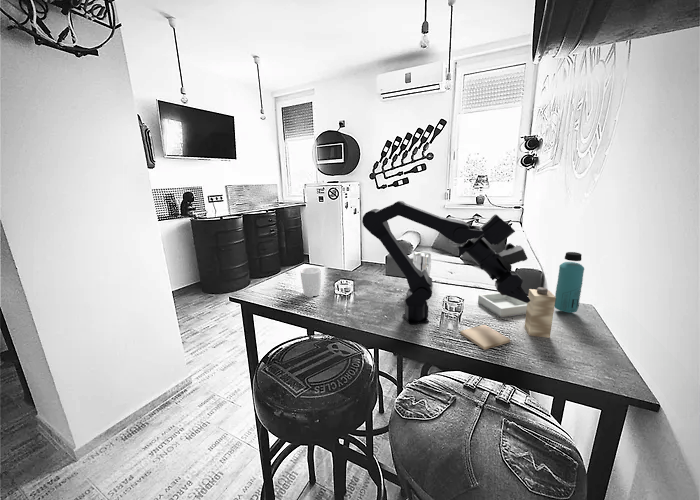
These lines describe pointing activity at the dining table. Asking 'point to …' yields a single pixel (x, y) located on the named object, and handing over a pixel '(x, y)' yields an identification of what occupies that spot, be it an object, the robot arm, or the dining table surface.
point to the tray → (502, 304)
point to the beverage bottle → (569, 284)
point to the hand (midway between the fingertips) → (524, 295)
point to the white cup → (311, 281)
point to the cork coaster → (485, 337)
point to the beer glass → (422, 261)
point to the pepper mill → (539, 312)
